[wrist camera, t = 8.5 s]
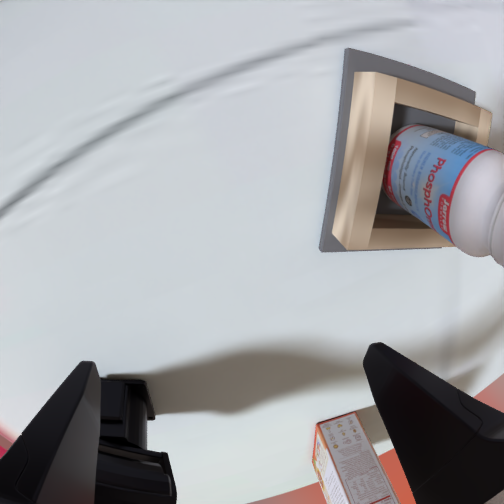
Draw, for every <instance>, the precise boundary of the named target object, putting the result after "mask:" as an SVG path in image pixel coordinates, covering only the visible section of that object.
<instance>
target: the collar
mask: <svg viewBox="0 0 504 504" xmlns="http://www.w3.org/2000/svg"><path fill="white" fill-rule="evenodd" d="M394 103H395V104H399V105H403V106H406V107H410V108H414V109H418V110H421V111H425V112H428V113H432V114H435V115H438V116H442V117H445V118H448V119H451V120H454V121H456V122H455V129H454V135H456V136H459V137H462V138H465V139H468V140H471V141H473V142H476V143H479V144H482V145H484V146H487V144H488V138H489V132H490V126H491V119H492V113H491V112H489V111H486V110H484V109H482V108H480V107H477V106H475V105H473V104H470V103H468V102H465V101H463V100H461V99H458V98H455V97H453V96H450V95H448V94H445V93H442V92H440V91H437V90H434V89H431V88H428V87H425V86H422V85H419V84H416V83H413V82H410V81H406V80H403V79H400V78H396V77H393V76H389V75H386V74H382V73H378V72H354V82H353V92H352V101H351V110H350V119H349V127H348V134H347V142H346V149H345V156H344V163H343V170H342V176H341V183H340V189H339V195H338V201H337V207H336V213H335V218H334V224H333V229H332V234H333V235H334V236H335V237H336V238H337V239H338V241H339V242H340V243H341V244H342V245H343V246H344V247H345V248H346V250H371V249H401V248H431V247H456V246H455V245H453V244H452V243H451V242H449V241H448V240H447V239H445V238H444V237H443V236H441V235H440V234H438V233H437V232H435V231H434V230H433V229H432V228H430V227H429V226H428V225H426V224H425V223H423V222H422V221H421V220H419V219H418V218H416V217H415V216H413V215H396V214H376V209H377V204H378V199H379V195H380V190H381V184H382V179H383V174H384V168H385V163H386V157H387V151H388V145H389V138H390V132H391V125H392V118H393V110H394Z"/></svg>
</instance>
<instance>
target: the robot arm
mask: <svg viewBox="0 0 504 504" xmlns="http://www.w3.org/2000/svg"><path fill="white" fill-rule="evenodd" d="M363 367H364V370H365V373H366V376H367V379H368V382H369V386H370V389H371V392H372V395H373V398H374V401H375V403H376V406H377V408H378V411H379V413H380V415H381V417H382V420H383V422H384V424H385V427H386V429H387V432H388V434H389V436H390V439H391V441H392V443H393V446H394V448H395V450H396V453H397V455H398V458H399V460H400V463H401V465H402V468H403V470H404V472H405V475H406V478H407V480H408V483H409V485H410V488H411V491H412V492H413V496H414V499H415V501H416V504H504V413H502V412H501V411H498V410H496V409H494V408H492V407H490V406H488V405H486V404H484V403H482V402H480V401H478V400H476V399H474V398H473V397H471V396H469V395H468V394H466V393H464V392H462V391H461V390H459V389H457V388H456V387H454V386H452V385H451V384H449V383H448V382H446V381H444V380H443V379H441V378H439V377H438V376H436V375H434V374H433V373H431V372H429V371H428V370H426V369H424V368H423V367H421V366H420V365H418V364H416V363H415V362H413V361H411V360H410V359H408V358H406V357H405V356H403V355H402V354H400V353H398V352H397V351H395V350H393V349H392V348H390V347H389V346H387V345H385V344H384V343H381V342H378V343H372V344H371V345H370V346H369V348H368V350H367V352H366V355H365V357H364V360H363ZM147 420H155V412H154V409H153V405H152V402H151V398H150V395H149V391H148V387H147V384H146V382H145V381H143V380H103V379H100V377H99V374H98V371H97V368H96V365H95V363H94V362H93V361H81V362H80V363H79V364H78V365H77V366H76V368H75V369H74V370H73V371H72V372H71V373H70V375H69V376H68V377H67V378H66V379H65V381H64V382H63V383H62V384H61V385H60V387H59V388H58V389H57V390H56V391H55V393H54V394H53V395H52V396H51V397H50V399H49V400H48V401H47V402H46V403H45V405H44V406H43V407H42V408H41V410H40V411H39V412H38V413H37V415H36V416H35V417H34V418H33V419H32V421H31V422H30V423H29V425H28V426H27V427H26V428H25V430H24V431H23V432H22V435H20V436H19V437H18V438H17V440H16V441H15V442H14V443H13V445H12V446H11V447H10V448H9V450H8V451H7V452H6V453H5V454H4V455H3V457H2V458H1V459H0V504H176V500H177V491H176V485H175V481H174V477H173V473H172V469H171V465H170V461H169V457H168V453H166V452H155V451H150V450H147Z"/></svg>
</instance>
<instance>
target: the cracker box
mask: <svg viewBox="0 0 504 504" xmlns="http://www.w3.org/2000/svg"><path fill="white" fill-rule="evenodd" d="M312 463H313V466H314V469H315V472H316V475H317V477H318V480H319V482H320V485H321V488H322V491H323V493H324V496H325V499H326V501H327V504H401V503H400V501H399V499H398V497H397V495H396V493H395V491H394V489H393V487H392V484H391V482H390V480H389V478H388V476H387V474H386V472H385V470H384V468H383V466H382V464H381V462H380V460H379V458H378V456H377V454H376V452H375V450H374V448H373V446H372V444H371V442H370V440H369V438H368V436H367V434H366V432H365V430H364V428H363V426H362V424H361V422H360V420H359V417H358V416H357V414H356V412H352V413H349V414H346V415H343V416H340V417H337V418H334V419H331V420H328V421H325V422H321V423H318V424H316V430H315V440H314V450H313V459H312Z"/></svg>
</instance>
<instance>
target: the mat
mask: <svg viewBox="0 0 504 504" xmlns="http://www.w3.org/2000/svg"><path fill="white" fill-rule="evenodd" d="M354 72H378V73H382V74H386V75H389V76H393V77H396V78H400V79H403V80H406V81H410V82H413V83H416V84H419V85H422V86H425V87H428V88H431V89H434V90H437V91H440V92H442V93H445V94H448V95H450V96H453V97H455V98H458V99H461V100H463V101H465V102H468V103H470V104H473V105H474V101H475V91H473V90H471V89H468V88H466V87H464V86H462V85H459V84H457V83H455V82H452V81H450V80H447V79H445V78H443V77H440V76H437V75H435V74H432V73H430V72H427V71H424V70H421V69H419V68H416V67H413V66H410V65H407V64H404V63H401V62H398V61H395V60H391V59H388V58H385V57H381V56H378V55H374V54H370V53H367V52H363V51H359V50H355V49H351V48H347V49H345V54H344V66H343V77H342V87H341V97H340V106H339V115H338V123H337V132H336V140H335V147H334V155H333V162H332V169H331V176H330V183H329V190H328V196H327V202H326V209H325V215H324V221H323V227H322V233H321V238H320V244H319V249H320V251H321V252H348V251H377V250H405V249H433V248H442V247H431V248H401V249H371V250H346V248H345V247H344V246H343V245H342V244H341V243H340V242H339V241H338V239H337V238H336V237H335V236H334V235H333V234H332V229H333V224H334V218H335V213H336V207H337V201H338V195H339V189H340V183H341V176H342V170H343V163H344V156H345V149H346V142H347V134H348V127H349V119H350V110H351V101H352V92H353V82H354ZM455 122H456V121H454V120H451V119H448V118H445V117H442V116H438V115H435V114H432V113H428V112H425V111H421V110H418V109H414V108H410V107H406V106H403V105H399V104H395V103H394V110H393V118H392V125H391V132H390V136H391V135H392V134H393V133H394V132H396V131H397V130H399V129H400V128H402V127H405V126H407V125H411V124H420V125H424V126H428V127H431V128H435V129H438V130H441V131H444V132H447V133H450V134H453V135H454V129H455ZM376 214H396V215H412V214H411V213H409V212H408V211H406V210H405V209H403V208H402V207H400V206H399V205H397V204H396V203H395V202H393V201H392V200H390V199H389V198H388V196H387V195H386V194H385V193H384V191H383V189H382V187H381V190H380V195H379V199H378V204H377V209H376Z"/></svg>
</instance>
